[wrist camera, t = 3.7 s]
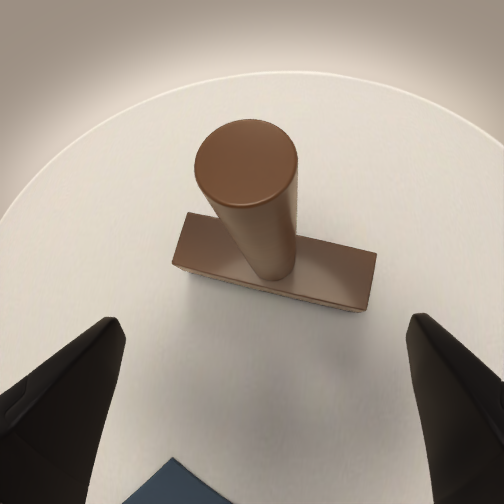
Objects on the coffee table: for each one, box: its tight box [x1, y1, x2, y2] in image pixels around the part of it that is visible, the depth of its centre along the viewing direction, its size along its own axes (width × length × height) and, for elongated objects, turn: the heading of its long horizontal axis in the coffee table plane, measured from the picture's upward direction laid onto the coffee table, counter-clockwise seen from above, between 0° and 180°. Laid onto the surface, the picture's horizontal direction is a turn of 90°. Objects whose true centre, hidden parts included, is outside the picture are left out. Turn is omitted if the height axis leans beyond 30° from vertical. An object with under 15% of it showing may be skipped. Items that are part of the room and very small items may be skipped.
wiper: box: [172, 119, 377, 313], centre depth 13 cm, size 3×11×14 cm, turn 75°
